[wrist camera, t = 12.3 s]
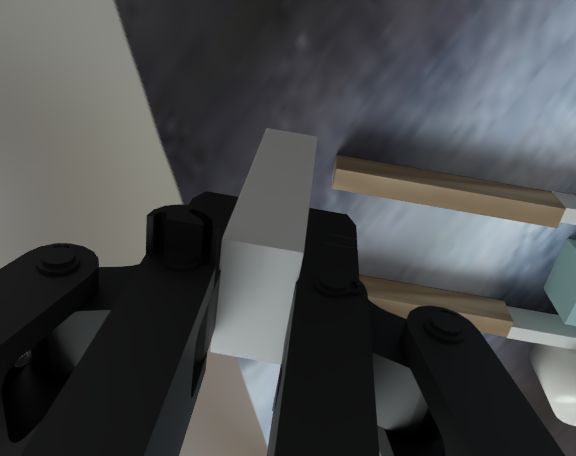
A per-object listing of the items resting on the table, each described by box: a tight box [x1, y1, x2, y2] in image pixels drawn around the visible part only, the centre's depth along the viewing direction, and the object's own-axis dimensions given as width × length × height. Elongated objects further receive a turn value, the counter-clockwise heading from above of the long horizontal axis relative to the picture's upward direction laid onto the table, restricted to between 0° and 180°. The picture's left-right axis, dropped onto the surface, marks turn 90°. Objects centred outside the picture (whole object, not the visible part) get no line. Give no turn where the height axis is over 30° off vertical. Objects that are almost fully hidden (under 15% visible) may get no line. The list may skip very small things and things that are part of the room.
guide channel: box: [332, 154, 566, 337], centre depth 42 cm, size 12×17×3 cm
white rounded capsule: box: [530, 343, 576, 426], centre depth 45 cm, size 6×6×6 cm
